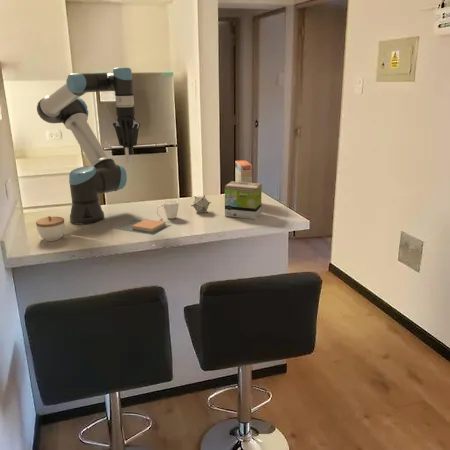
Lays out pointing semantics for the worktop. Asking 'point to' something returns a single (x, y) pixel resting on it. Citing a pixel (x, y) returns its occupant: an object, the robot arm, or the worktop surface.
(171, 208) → the cup
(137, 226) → the tile
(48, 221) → the lidded jar
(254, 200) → the tea box
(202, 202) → the game die
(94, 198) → the robot arm
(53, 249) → the worktop surface
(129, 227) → the mat
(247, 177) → the cracker box
